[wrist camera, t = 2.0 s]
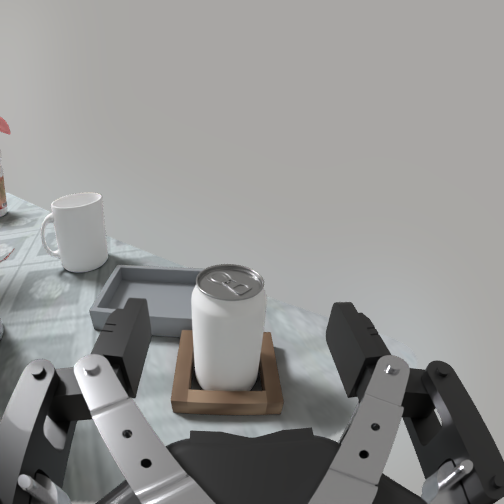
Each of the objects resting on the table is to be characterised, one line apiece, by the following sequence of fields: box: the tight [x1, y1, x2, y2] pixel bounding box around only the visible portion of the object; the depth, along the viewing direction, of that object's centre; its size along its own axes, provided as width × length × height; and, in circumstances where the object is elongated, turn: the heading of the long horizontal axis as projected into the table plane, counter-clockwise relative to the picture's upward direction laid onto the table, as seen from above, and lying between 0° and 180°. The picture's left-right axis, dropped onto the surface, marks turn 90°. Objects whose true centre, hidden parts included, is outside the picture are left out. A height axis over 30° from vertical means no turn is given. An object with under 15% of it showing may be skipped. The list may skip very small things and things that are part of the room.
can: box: [191, 264, 267, 391], centre depth 27 cm, size 6×6×12 cm
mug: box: [41, 192, 108, 273], centre depth 45 cm, size 10×12×12 cm
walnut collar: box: [171, 330, 284, 415], centre depth 29 cm, size 10×10×2 cm
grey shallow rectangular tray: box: [89, 265, 204, 337], centre depth 39 cm, size 14×12×3 cm
